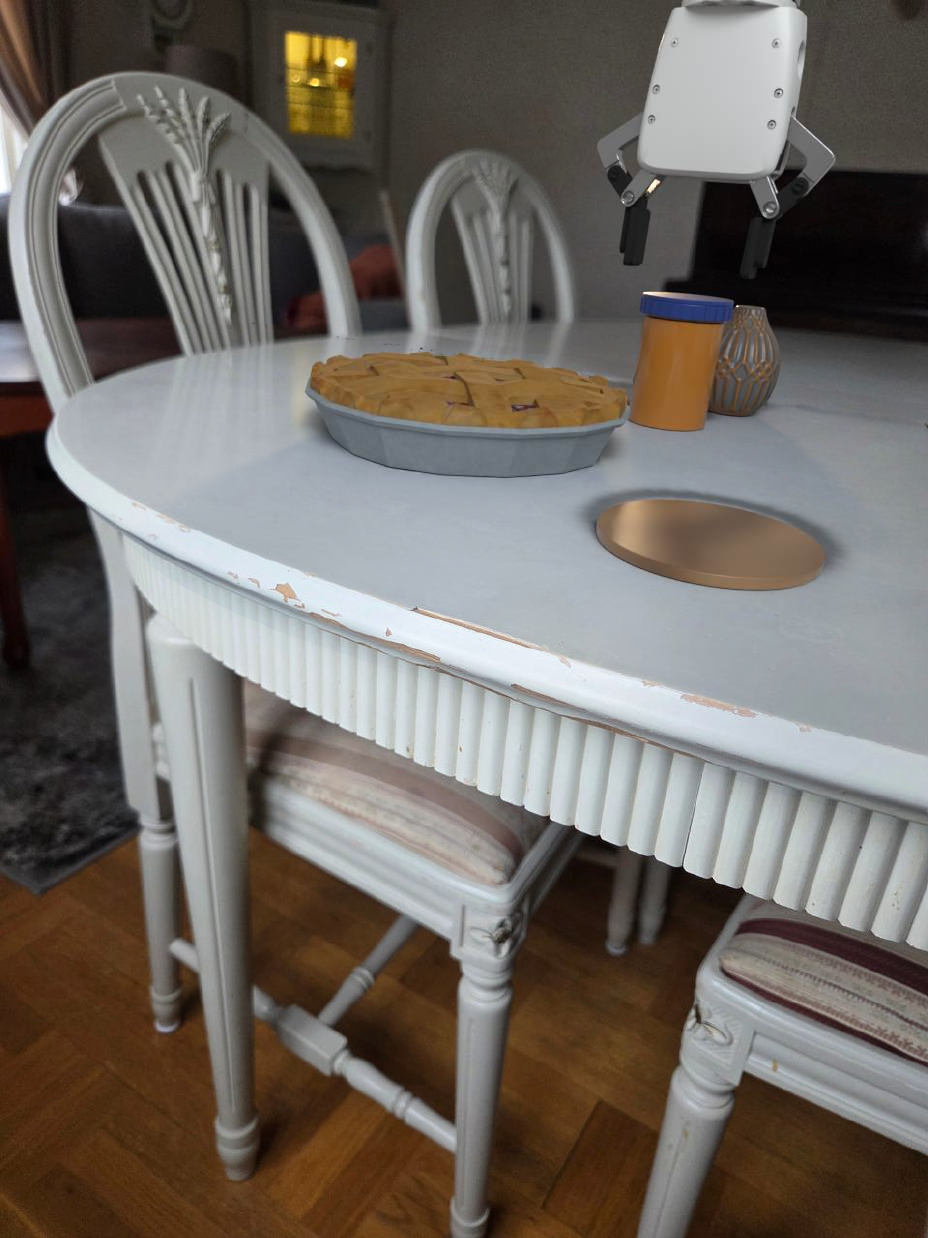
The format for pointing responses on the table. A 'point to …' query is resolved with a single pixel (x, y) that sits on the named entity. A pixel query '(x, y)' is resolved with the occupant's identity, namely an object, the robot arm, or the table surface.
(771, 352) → the vase
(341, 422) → the pie
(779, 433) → the table surface
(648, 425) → the jar
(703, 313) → the lid
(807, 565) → the coaster
